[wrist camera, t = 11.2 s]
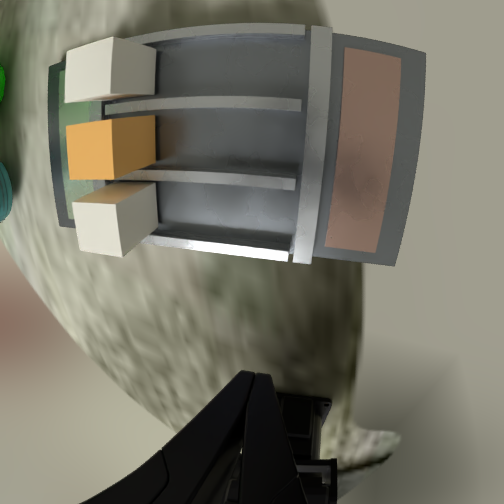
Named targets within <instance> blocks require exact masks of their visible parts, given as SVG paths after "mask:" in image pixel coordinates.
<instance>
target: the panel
mask: <svg viewBox="0 0 504 504" xmlns="http://www.w3.org/2000/svg"><path fill="white" fill-rule="evenodd" d="M125 40H128V41H132V42H135V43H139V44H142V45H145V46H148V47H152V48H155V49H156V65H155V91H154V95H147V96H138V97H130V98H123V99H116V100H102V101H84V102H72V103H65V72H66V60H65V61H62V62H60V63H57V64H54V65H52V66H49V76H48V134H49V150H50V162H51V172H52V181H53V188H54V196H55V202H56V209H57V214H58V220H59V225H60V226H61V227H70V228H76V226H75V220H74V214H73V207H72V202H73V201H75V200H77V199H79V198H81V197H83V196H85V195H87V194H89V193H91V192H93V191H95V190H98V189H100V188H102V187H104V186H106V185H108V184H111V183H113V182H153V183H156V201H157V216H158V228H156V229H155V230H154V231H153V232H152V233H150V234H149V235H148V236H147V237H146V238H144V239H143V240H142V241H141V242H140V243H145V244H152V245H160V246H168V247H176V248H184V249H192V250H200V251H208V252H216V253H223V254H231V255H240V256H248V257H256V258H264V259H272V260H280V261H288V255H289V254H294V256H293V262H296V263H304V264H311V260H312V256H314V257H322V258H330V259H338V260H347V261H355V262H363V263H371V264H379V265H387V266H395V263H396V259H397V256H398V252H399V248H400V245H401V241H402V237H403V232H404V228H405V224H406V219H407V215H408V210H409V205H410V200H411V195H412V190H413V184H414V178H415V173H416V166H417V161H418V154H419V146H420V138H421V129H422V120H423V108H424V95H425V72H426V53H424V52H421V51H417V50H414V49H410V48H406V47H403V46H399V45H395V44H391V43H386V42H382V41H377V40H372V39H367V38H362V37H356V36H350V35H344V34H337V33H332V27H324V26H314V25H311V31H310V30H305V25H302V24H286V23H232V24H215V25H204V26H194V27H185V28H178V29H171V30H165V31H159V32H153V33H148V34H143V35H138V36H134V37H129V38H125ZM148 115H155V151H156V163H154V164H151V165H148V166H146V167H143V168H141V169H138V170H136V171H134V172H131V173H129V174H126V175H124V176H122V177H119V178H117V179H115V180H70V176H69V166H68V154H67V138H66V126H69V125H75V124H80V123H87V122H93V121H100V120H108V119H116V118H125V117H136V116H148Z"/></svg>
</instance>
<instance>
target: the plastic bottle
mask: <svg viewBox="0 0 504 504" xmlns="http://www.w3.org/2000/svg"><path fill="white" fill-rule="evenodd" d="M4 86H5V75H4V70H3V67H1V64H0V103H1V100H2V98H3V95H4Z"/></svg>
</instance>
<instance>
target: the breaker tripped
mask: <svg viewBox="0 0 504 504" xmlns="http://www.w3.org/2000/svg"><path fill="white" fill-rule="evenodd" d="M66 138H67V154H68V166H69V176H70V180H115V179H117V178H119V177H122V176H124V175H126V174H129V173H131V172H134V171H136V170H138V169H141V168H143V167H146V166H148V165H151V164H154V163H156V151H155V115H148V116H136V117H125V118H116V119H108V120H100V121H93V122H87V123H80V124H75V125H69V126H66Z"/></svg>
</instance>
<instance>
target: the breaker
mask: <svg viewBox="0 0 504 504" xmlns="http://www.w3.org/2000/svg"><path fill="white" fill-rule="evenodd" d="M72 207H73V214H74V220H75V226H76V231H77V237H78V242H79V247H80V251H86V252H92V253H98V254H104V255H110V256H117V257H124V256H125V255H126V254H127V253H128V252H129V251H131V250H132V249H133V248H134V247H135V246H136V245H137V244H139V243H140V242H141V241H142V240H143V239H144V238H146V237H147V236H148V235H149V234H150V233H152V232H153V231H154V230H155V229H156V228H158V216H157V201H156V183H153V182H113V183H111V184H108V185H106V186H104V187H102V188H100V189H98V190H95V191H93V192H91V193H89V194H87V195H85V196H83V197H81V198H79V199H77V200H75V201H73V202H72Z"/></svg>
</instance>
